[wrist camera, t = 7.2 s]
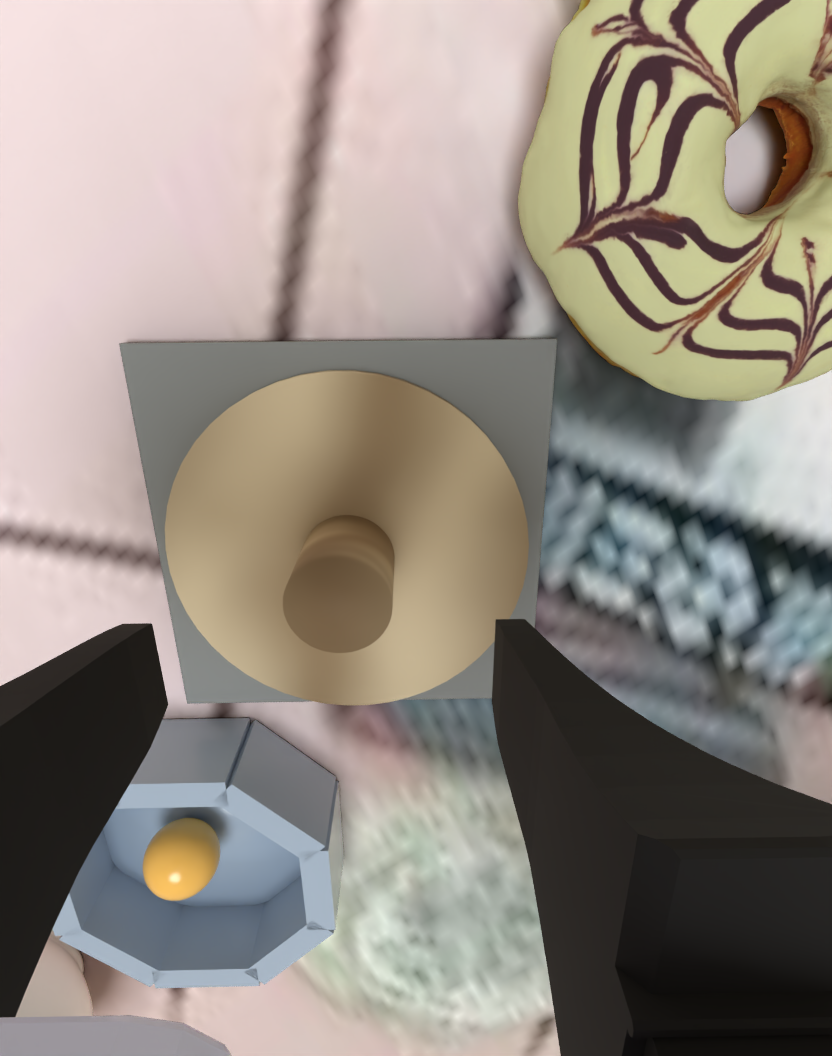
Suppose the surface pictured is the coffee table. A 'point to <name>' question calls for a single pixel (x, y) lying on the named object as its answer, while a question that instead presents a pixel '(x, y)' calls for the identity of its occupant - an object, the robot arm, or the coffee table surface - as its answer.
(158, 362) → the mat
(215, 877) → the bowl
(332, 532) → the lid
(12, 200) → the coffee table surface
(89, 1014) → the lidded jar
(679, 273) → the decorated donut
